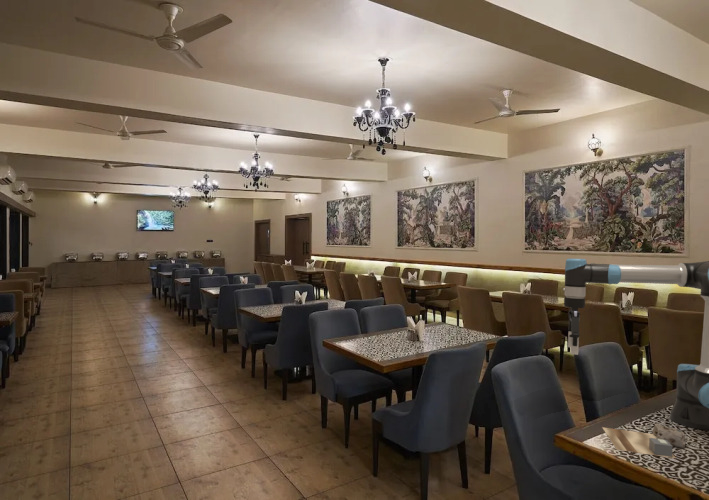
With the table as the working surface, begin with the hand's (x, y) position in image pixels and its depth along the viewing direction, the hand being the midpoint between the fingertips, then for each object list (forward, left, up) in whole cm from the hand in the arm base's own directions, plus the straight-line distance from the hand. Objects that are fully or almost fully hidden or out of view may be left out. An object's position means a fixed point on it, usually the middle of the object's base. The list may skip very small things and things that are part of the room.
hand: (572, 350), depth 177 cm
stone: (-29, +12, -27) cm, 42 cm away
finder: (-23, +24, -26) cm, 43 cm away
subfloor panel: (-18, +17, -27) cm, 37 cm away
